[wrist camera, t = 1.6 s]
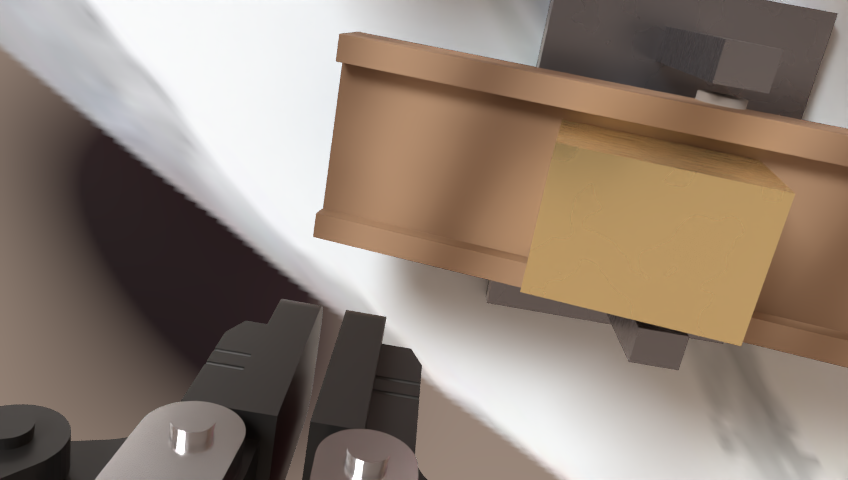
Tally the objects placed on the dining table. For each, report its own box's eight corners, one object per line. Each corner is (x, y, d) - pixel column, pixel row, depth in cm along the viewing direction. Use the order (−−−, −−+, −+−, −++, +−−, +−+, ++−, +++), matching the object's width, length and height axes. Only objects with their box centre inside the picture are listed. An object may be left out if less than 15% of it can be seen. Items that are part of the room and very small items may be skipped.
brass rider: (759, 159, 26) (795, 193, 21) (716, 288, 28) (741, 346, 23) (562, 119, 27) (555, 142, 22) (532, 245, 29) (519, 291, 24)
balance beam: (1092, 161, 28) (1200, 195, 23) (994, 362, 30) (1071, 430, 26) (380, 22, 32) (340, 25, 27) (352, 210, 35) (312, 243, 30)
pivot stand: (826, 12, 32) (947, 23, 25) (716, 334, 38) (786, 428, 30) (558, -37, 32) (593, -43, 24) (486, 294, 38) (495, 378, 30)
